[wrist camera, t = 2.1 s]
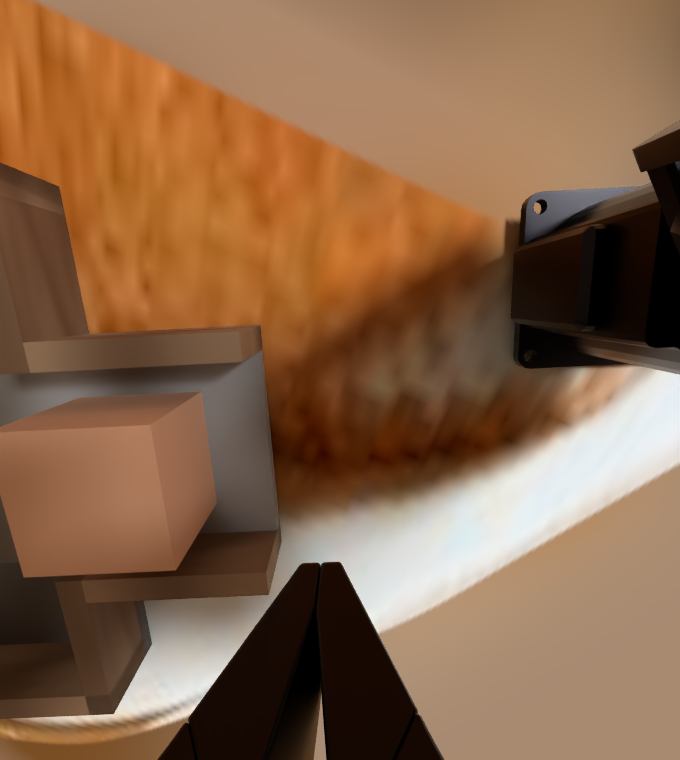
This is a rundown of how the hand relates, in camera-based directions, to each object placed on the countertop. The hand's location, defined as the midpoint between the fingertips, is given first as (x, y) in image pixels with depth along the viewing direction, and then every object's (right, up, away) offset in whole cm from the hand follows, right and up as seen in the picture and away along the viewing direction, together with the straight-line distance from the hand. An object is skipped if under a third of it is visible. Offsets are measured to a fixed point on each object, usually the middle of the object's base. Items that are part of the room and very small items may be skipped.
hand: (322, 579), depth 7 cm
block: (-8, +1, +7) cm, 11 cm away
